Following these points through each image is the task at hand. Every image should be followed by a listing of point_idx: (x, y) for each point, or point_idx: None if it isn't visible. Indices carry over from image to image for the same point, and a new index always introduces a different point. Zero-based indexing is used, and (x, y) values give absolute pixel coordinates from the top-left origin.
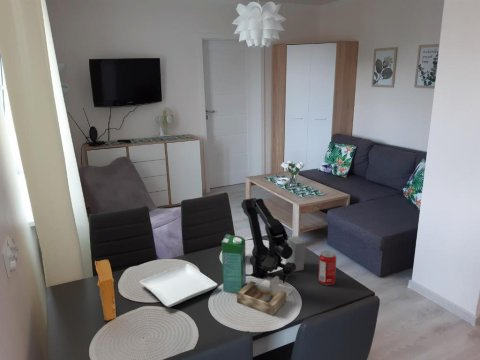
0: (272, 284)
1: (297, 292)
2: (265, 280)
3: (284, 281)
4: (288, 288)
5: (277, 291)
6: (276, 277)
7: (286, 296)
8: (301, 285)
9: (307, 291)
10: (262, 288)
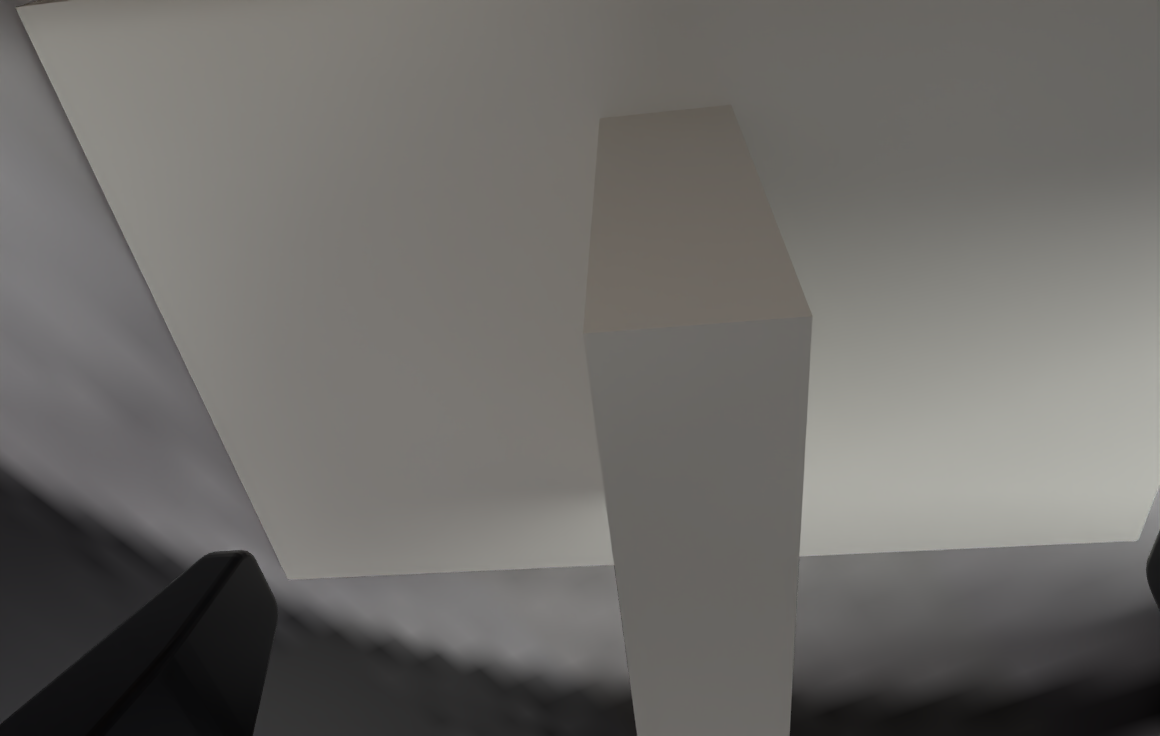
0: (607, 265)
1: (137, 515)
2: (1130, 513)
3: (104, 666)
4: (379, 528)
5: (507, 261)
6: (707, 725)
7: (116, 205)
8: (296, 716)
9: (44, 632)
10: (1077, 99)
